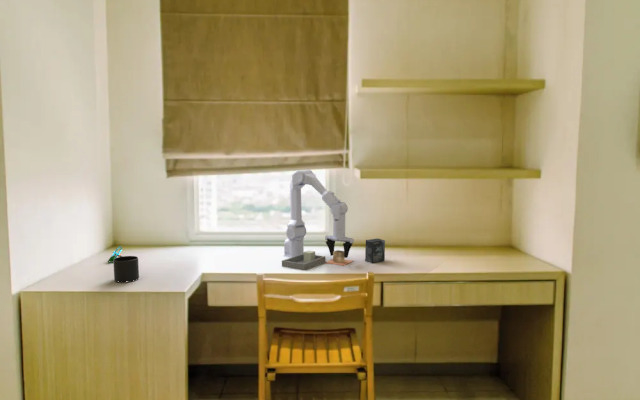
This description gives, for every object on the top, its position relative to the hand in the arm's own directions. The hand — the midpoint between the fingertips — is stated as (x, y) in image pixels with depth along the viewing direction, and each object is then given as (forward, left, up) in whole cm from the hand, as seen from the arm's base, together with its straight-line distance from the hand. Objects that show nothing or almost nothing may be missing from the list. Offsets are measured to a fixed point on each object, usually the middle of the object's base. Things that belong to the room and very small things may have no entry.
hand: (339, 256), depth 217 cm
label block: (0, 0, -3) cm, 3 cm away
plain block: (-12, -8, -3) cm, 14 cm away
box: (+13, +12, -3) cm, 18 cm away
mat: (0, 0, -3) cm, 3 cm away
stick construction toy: (-93, -54, -4) cm, 108 cm away
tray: (-12, -12, -3) cm, 17 cm away
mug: (-61, -71, -3) cm, 94 cm away
